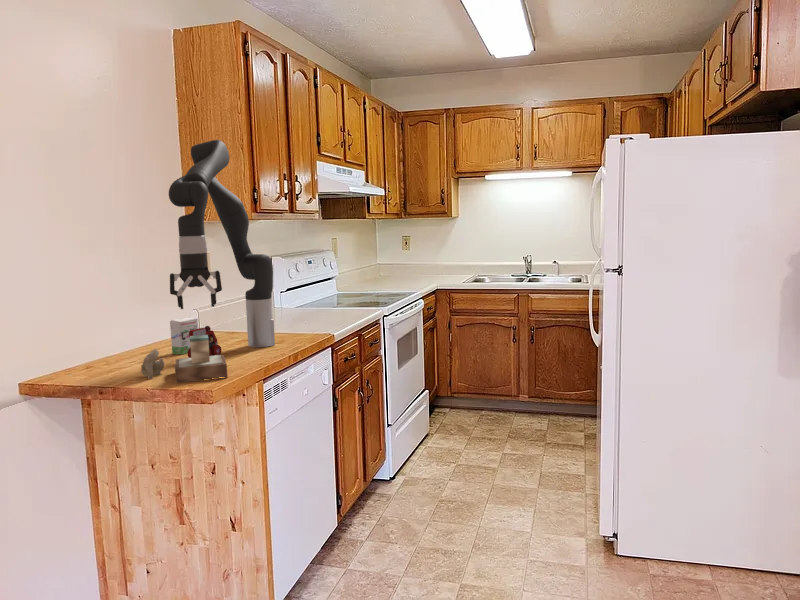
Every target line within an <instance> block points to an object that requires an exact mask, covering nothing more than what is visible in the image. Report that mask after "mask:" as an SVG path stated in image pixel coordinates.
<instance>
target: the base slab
mask: <svg viewBox="0 0 800 600" xmlns="http://www.w3.org/2000/svg"><path fill="white" fill-rule="evenodd" d="M209 358H210V362H200V363H192V361H191V358H189V357H185V358H183V357H182V358H177V359H175V362H174V363H175V364H174V373H175V376H174V377H175V383H176V384H178V383H179V384H180V383H190V381H191V382H197V381H196V380H201V381H205V380H204V379H211V380H213V379H212V378H219V377H227V378H228V365H227V361H226V358H225V355H224V354H222V355H215V356H212V355H211V356H209Z"/></svg>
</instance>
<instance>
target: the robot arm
mask: <svg viewBox="0 0 800 600" xmlns="http://www.w3.org/2000/svg"><path fill="white" fill-rule="evenodd" d="M190 155H191V159H192V163H193V164H194V165H192V166H191V167H190V168H189V169H188V171H187V173H186V174H185V175H182V176H180V177H179V178H177V179H176V180H173V182H172V183H171V185H170V186H169V189H168V198H169V201H170V202H171V204H172V205H174V206H176V207H180V208H183V207H185V208H186V207H188V208H189V207H194V208H193V211H192V212H191V213H188V214H185V215H181V216H179V217H178V219H177V224H178V225H177V226H178V227H177V228H178V252H179V264H180V272H179V273H174V272H172V273H171V272H170V274H169V294H170V295H172V296H173V295H174V296H176V297H177V298H176V299H177V307H178V308H180V310H184V299H183V293H184V292H185V291H186V289H187V288H195V287H198V288H202V287H203V286H205V288H206V289H207V290H208V291H209V292H210V304H211V307H214V308H215V306H216V304H217V294H218V293H219V292H221V291H222V289H223V286H222V279H221V272H220V271H219V270H215V271H209V263H208V262H209V261H208V247H207V241H206V234H205V216H206V215H205V214H206V208H207V205H208V199H209V197H210V198H211V201H212V204H213V206H214V208H215V212H216V213H217V216H218V219H219V222H220V223H221V226H222V227H223V230H224V231H225V235H226V236H227V239H228V242H229V245H230V247H231V250H232V253H233V255H234V259H235V262H236V266H237V268H238V271H239V273H240V275H241V276H242V277H243V279H245V280H249V281H251V280H252V281H253V280H254V285H253V287H252V288H250V289H248V290H246V291H245V293H244V294H245V308H246V309H245V312H246V314H245V315H246V329H247V330H246V331H247V345H248V347H250V348H266V347H271V346H276V339H275V323H274V322H275V320H274V317H273V300H272V299H273V298H272V295H273V291H274V290H273V289H274V265H273V261H272V258H271V256H269V255H267V254H263V253H262V254H261V253H259V254H258V253H256V254H255V253H253V252H252V251H251V249H250V245H249V243H248V232H249V226H250V220H249V216H248V213H247V211H246V210H247V209H246V208H245V206H244V203H243V201H242V200H241V199H240V198H239V197H238V196H237V195H236V194H235V193H233V192H232V191H231V190H229V189H228V188H226V187H225V186H224V185H223V184H222V183H220V181H219V180H218V179H217V177H216V176H217V175H219V173H220V172H221V171H222V170H223V169H225V168H227V166H229V163H230V153H229V150H228V147H227V145H226V144H225V142H224V141H222V140H219V139H214V140H213V139H212V140H209V141H204V142H201V143H197V144H194V145H192V146H191V148H190ZM210 277H212V279H214V280H215V282H216V287H215V288H214V287H213V286H212V285H211V284H210V283H209V282H208V280H209V279H210ZM179 278H180V279H181V281H182V282H183V283H182V284H181V286H180V288H179V289H178V290H176V289H175V282H177V281H178V279H179Z"/></svg>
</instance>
